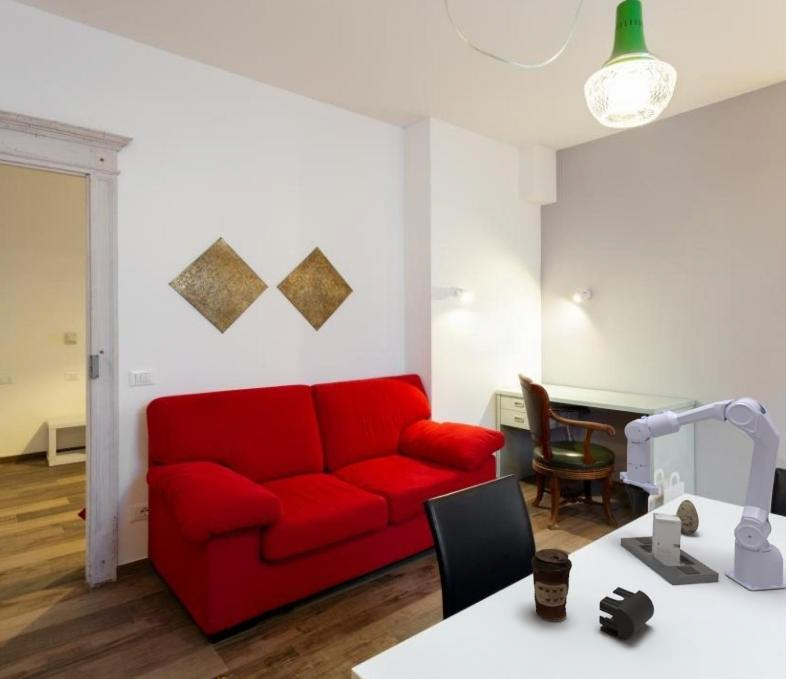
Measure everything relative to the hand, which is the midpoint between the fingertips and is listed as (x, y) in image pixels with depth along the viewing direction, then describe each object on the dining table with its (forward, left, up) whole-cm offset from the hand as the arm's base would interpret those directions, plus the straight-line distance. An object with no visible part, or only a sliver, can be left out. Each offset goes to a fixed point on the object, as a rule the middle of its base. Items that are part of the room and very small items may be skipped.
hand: (637, 512), depth 142 cm
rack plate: (-3, +8, -10) cm, 13 cm away
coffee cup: (+37, +27, -11) cm, 47 cm away
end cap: (+24, +34, -11) cm, 43 cm away
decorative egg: (-21, -8, -11) cm, 25 cm away
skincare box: (-3, +8, -11) cm, 14 cm away
